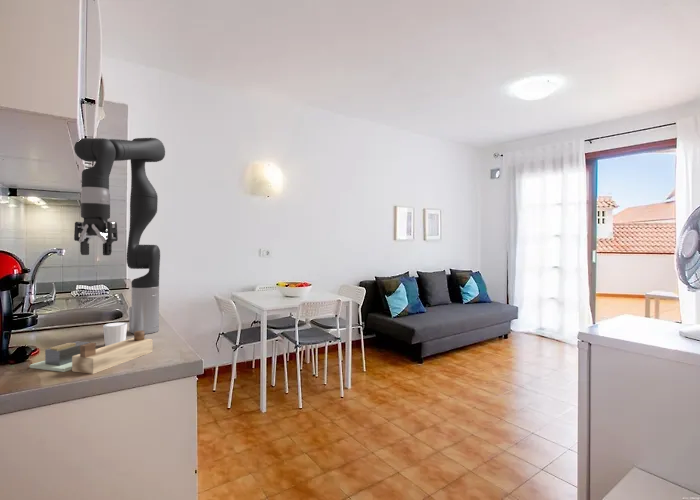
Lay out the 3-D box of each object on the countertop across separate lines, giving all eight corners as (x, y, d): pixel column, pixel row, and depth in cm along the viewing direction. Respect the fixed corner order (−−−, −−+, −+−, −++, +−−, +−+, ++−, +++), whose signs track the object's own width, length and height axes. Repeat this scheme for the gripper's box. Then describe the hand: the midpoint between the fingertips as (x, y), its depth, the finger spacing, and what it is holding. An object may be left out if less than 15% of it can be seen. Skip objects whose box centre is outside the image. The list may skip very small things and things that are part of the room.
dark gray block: (45, 364, 100) (45, 347, 100) (77, 354, 109) (77, 339, 109) (59, 365, 99) (59, 348, 99) (90, 356, 107) (90, 340, 107)
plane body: (72, 371, 97) (72, 344, 97) (134, 350, 116) (134, 328, 116) (93, 373, 95) (93, 347, 95) (152, 352, 115) (152, 329, 115)
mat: (29, 367, 99) (29, 364, 99) (72, 354, 111) (72, 352, 111) (64, 372, 96) (64, 368, 96) (104, 358, 108) (104, 355, 108)
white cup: (120, 341, 127) (120, 321, 126) (131, 344, 123) (131, 323, 123) (98, 346, 121) (98, 324, 121) (109, 349, 117) (109, 327, 117)
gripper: (124, 204, 116) (124, 255, 116) (88, 204, 120) (88, 254, 120) (103, 201, 109) (103, 256, 109) (65, 202, 112) (66, 255, 113)
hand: (95, 255), depth 115 cm, fingers open, 8 cm apart
